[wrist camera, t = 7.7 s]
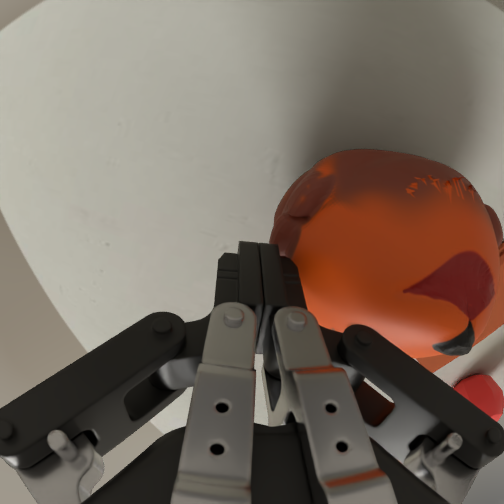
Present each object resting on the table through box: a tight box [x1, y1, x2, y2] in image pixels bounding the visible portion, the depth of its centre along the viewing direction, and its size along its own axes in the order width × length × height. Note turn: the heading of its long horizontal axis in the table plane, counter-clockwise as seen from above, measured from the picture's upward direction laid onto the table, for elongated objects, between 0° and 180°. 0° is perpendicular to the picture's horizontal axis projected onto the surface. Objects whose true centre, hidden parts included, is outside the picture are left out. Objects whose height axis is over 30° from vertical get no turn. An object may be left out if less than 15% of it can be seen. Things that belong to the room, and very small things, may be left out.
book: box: [416, 242, 504, 373], centre depth 23 cm, size 14×11×1 cm
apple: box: [453, 375, 504, 422], centre depth 28 cm, size 8×8×8 cm
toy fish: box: [269, 149, 503, 358], centre depth 14 cm, size 12×10×11 cm
